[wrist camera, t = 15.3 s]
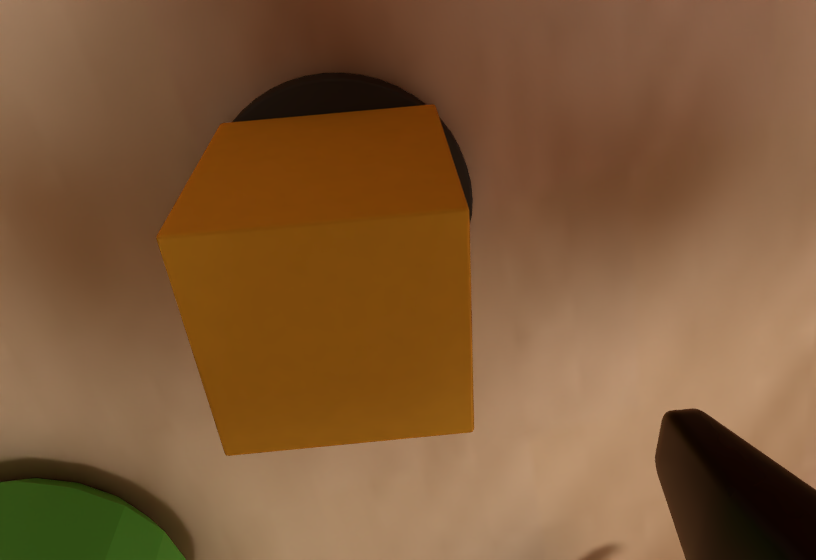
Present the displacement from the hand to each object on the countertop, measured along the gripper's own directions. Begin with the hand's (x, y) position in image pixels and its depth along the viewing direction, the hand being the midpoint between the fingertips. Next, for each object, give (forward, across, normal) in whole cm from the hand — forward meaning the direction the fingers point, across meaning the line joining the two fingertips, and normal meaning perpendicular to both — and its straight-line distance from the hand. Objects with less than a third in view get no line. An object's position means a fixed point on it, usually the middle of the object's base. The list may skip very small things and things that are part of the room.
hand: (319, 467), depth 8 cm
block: (+7, 0, 0) cm, 7 cm away
